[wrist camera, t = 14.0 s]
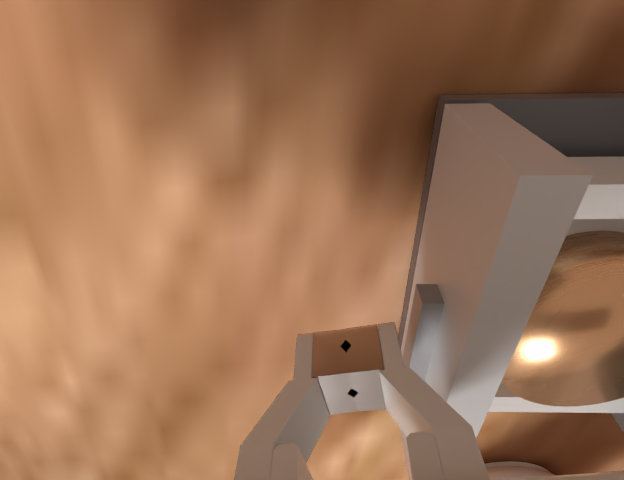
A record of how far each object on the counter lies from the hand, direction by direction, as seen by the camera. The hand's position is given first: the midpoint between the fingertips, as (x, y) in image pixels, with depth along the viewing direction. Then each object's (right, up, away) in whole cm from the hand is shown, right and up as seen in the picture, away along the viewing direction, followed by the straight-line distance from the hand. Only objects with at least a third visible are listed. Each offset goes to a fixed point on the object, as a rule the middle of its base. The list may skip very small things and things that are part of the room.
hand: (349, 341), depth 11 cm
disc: (+8, +1, +1) cm, 8 cm away
